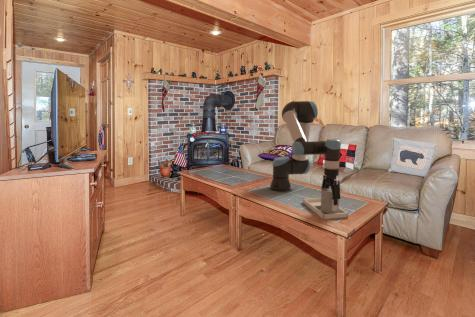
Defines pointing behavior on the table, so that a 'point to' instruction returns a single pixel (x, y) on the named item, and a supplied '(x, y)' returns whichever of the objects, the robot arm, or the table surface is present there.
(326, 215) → the tray
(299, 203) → the table surface
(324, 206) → the white speckled round cylinder
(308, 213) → the table surface
